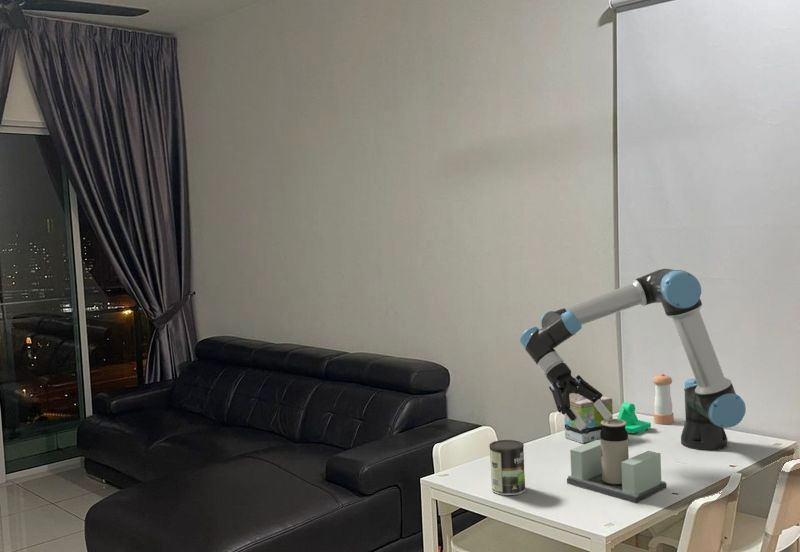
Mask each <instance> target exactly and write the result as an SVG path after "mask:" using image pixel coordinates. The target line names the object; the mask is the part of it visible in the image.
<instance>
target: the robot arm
mask: <svg viewBox="0 0 800 552" xmlns="http://www.w3.org/2000/svg"><path fill="white" fill-rule="evenodd" d="M701 295H702V286H701V283H700V281H699V279H698V278H697V277H696V276H695V275H694V274H692V273H690V272H688V271H687V270H682V269H670V268H662V269H658V270H655V271H652V272H650V273H647V274H645V275H643V276H640V277H638V278H635V279H632V282H631V283H630V284H626V285H624V286H622V287H619V288H616V289H613V290H609V291H607V292H605V293H602V294H599V295H596V296H593V297H591V298H588V299H585V300H583V301H580V302H578V303H574V304H572V305H568V306H565V307H564V308H561V309H558V310H555V311H554V310H551V311H550V310H549V311H546V312H545V313H543V315H542V316H541V318H540V321H539V322H540V327H541V328H539V327H537V326H531V327H530V328H527V329H525V330H524V331H523V332H522V334H521V335H520V336H519V342H520V344H521V345H522V347H523V348H524V350H525V352H527V354H528V355H529V356H530V358H531V359H532V360H533V362H534V363H535V364H536V366H537V367H538V368H539V369H540V371H541V372H542V373H543V375H545V376H546V379H547V380H548V382H549V383H550V385H549V386H548V389H549V390H550V392H551V393H552V396H553V401H554V404H555V406H556V409H557V412H558V413H561V414H562V415H564V414H565V413H566V414H567V416H568V417H569V418H570V420H572V421H573V423H574V424H575V425H576V426H577V428H578V429H579V430H582V429H583V428H584V427H585V426H586V424H585V423H584V421H583V420H582V419H581V417H580V416H579V415H578V414H577V412H576V411H575V410H574V408H571V409H570V394H576V395H579V396H580V397H581V396H583V397H585V398H587V399H588V400H590V401H592V402H594V404H593V405H594V406H595V407H596V409H597V410H598V411H599V413H600V414H601V415H602V416H603V418H604V419H610V418H611V417H612V416H613V415H612V414H611V413H610V412H609V410H608V409H607V408H606V406H605V405H604V403H603V402H602V401H601V399H600V398H601V397H602V396H604V395H603V394H602V392H600V391H599V390H597V389H596V388H595V387H593V385H591V384H590V383H588V382H587V381H586V380H584V379H583V378H582V376H581V375H579V374H578V375H577V376H576V377H573V376H572V370H571V368H570V367H569V366H568V364H567V363H565V362H564V359H563V358H562V356H560V354H559V353H558V352H557V350H556V348H557V347H558V346H560V345H562V344H563V343H564V342H565V341H567V340H568V339H570V338H571V337H573V336H575V335H576V334H577V333H578V332H579V331H580V330H582V327H583V325H586V324H587V323H591V322H594V321H596V320H597V321H598V320H600V319H602V318H605V317H608V316H611V315H614V314H615V313H619V312H621V311H624V310H628V309H630V308H634V307H636V306H638V305H641V306H644V307H645V306H647V305H650V304H655V303H656V304H657V303H660V304H662V305H661V306H662V307H663V309H664V312H665V315H666V317H668V318H671V319H672V320H673V322H674V326H675V328H676V330H677V333H678V336H679V339H680V341H681V344H682V347H683V349H684V352H685V355H686V357H687V360H688V363H689V365H690V369H691V370H692V374H693V376H694V378H689V379H686V380H685V381H684V389H683V391H684V410H685V413H684V415H685V422H684V426H683V429H682V431H681V435H680V443H681V445H682V446H684V447H687V448H690V449H694V450H695V449H696V450H703V451H716V450H721V449H726V448H727V447H728V445H729V442H728V436H727V434H726V430H725V429H726V428H727V429H728V428H729V429H730V428H732V427H735V426H737V425H739V424H740V423H741V422H742V421H743V419H744V417H745V415H746V412H747V411H746V409H747V407H746V403H745V401H744V400H743V398H741V396H740V395H739V394H737V393H736V390H735V387H734V385H733V382H732V381H731V379H729V378H727V377H725V376H724V373H723V370H722V368H721V365H720V362H719V360H718V357H717V354H716V351H715V349H714V345H713V343H712V341H711V338H710V335H709V333H708V330H707V327H706V324H705V323H704V319H703V317H702V314H701V311H700V310H701V308H702V306H703V303H702V300H701Z"/></svg>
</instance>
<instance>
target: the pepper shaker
mask: <svg viewBox="0 0 800 552" xmlns="http://www.w3.org/2000/svg"><path fill="white" fill-rule="evenodd" d="M652 382H653V384H654V387H655V389H654V390H655V391H654V392H655V395H654V396H655V398H654V405H653V406H654V412H653V423H654V424H657V425H672V424H674V422H675V420H674V412H673V402H672V397H671V385H672V382H673V379H672V377H671V376H669V375H666V374H665V373H663V372H662V373H660V374H658V375H655V376H654V377H653V378H652Z"/></svg>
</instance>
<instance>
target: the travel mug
mask: <svg viewBox="0 0 800 552" xmlns="http://www.w3.org/2000/svg"><path fill="white" fill-rule="evenodd" d="M601 424H602V430H601V432H600V439H599V440H601V466H602V480H603V481H604V482H606V483H609V484H617V485H619V484H622V467H621V462H623V461H625V460H628V459H630V458H629V432H627V431H626V429H625V426H626V424H627V423H626V421H624V420H620V419H617V418H613V419H605V420H602V421H601Z"/></svg>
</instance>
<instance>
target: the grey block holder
mask: <svg viewBox="0 0 800 552" xmlns="http://www.w3.org/2000/svg"><path fill="white" fill-rule="evenodd" d="M569 451H570V472H571V474H570V476H571V477H575V478H578V479H584V480H587V479H589V478H592V477H594V476H596V475H599V474H601V473H602V466H601V440H600V439H598V440H593V441H589V442H586V443H585V444H584V443H583V444H582V445H580V446H577V447H574V448H571V449H570V450H569ZM661 458H662V457H661V453H659V452H656V451H652V450H647V451H644V452H642V453H640V454H637V455H635V456H632V457H630V458H629V459H628V460H625V461H623V462H621V467H622V491H625V492H629V493H633V494H640V493H642V492H644V491H646V490H648V489H651V488H653V487H655V486H657V485H659V484H661V481H662V459H661Z"/></svg>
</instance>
